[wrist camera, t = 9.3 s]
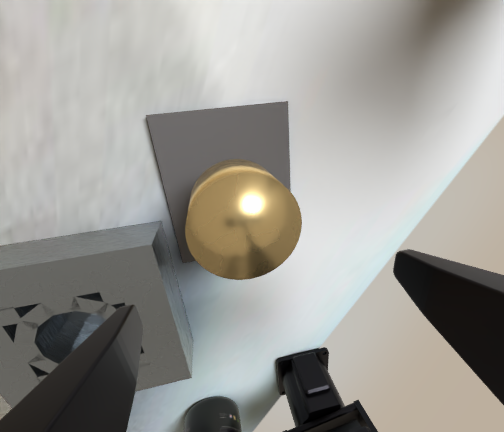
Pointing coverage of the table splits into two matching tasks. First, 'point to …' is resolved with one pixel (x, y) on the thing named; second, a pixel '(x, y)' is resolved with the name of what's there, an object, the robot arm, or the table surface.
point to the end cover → (241, 220)
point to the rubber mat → (216, 149)
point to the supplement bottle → (213, 416)
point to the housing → (89, 303)
